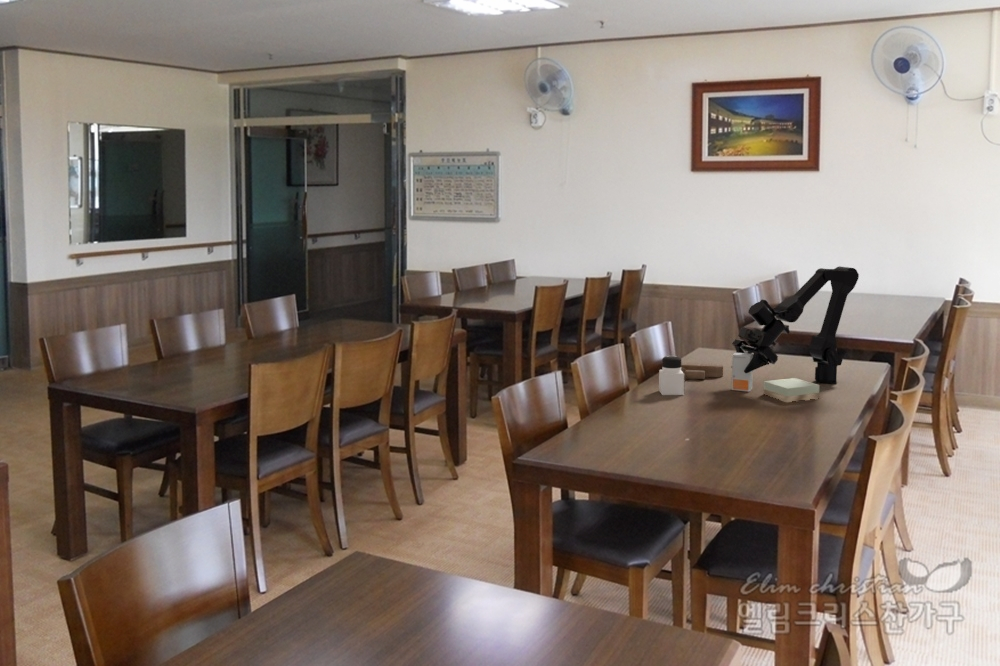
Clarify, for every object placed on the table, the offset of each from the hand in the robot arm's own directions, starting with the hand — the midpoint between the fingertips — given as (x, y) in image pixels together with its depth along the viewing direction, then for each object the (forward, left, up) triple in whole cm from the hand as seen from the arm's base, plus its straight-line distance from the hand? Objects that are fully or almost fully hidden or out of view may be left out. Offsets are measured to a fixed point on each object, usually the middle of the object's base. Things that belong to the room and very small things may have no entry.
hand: (738, 370), depth 307 cm
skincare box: (-1, -1, -7) cm, 7 cm away
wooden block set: (+15, -14, -7) cm, 22 cm away
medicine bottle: (+20, +9, -7) cm, 23 cm away
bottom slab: (-17, +5, -7) cm, 19 cm away
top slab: (-17, +5, -5) cm, 18 cm away
